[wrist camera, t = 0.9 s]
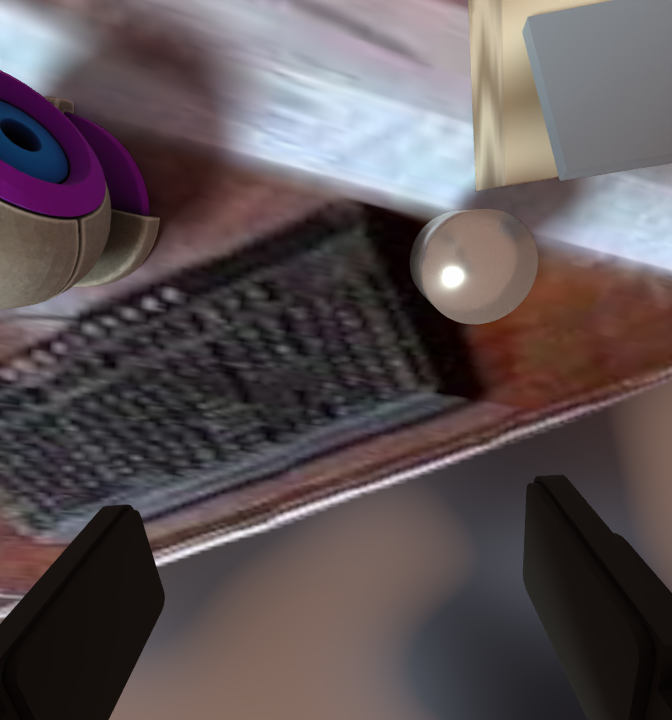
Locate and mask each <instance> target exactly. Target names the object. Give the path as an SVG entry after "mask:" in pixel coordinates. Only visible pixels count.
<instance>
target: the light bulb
mask: <svg viewBox="0 0 672 720" xmlns="http://www.w3.org/2000/svg"><path fill="white" fill-rule="evenodd" d="M537 269H538V252H537V247H536V244H535V241H534V238H533V236H532V234H531V232H530V231H529V230H528V228H527V227H526V226H525V225H524V224H523V223H522V222H521V221H520V220H519V219H517V218H516V217H515V216H513V215H511V214H509V213H506V212H503V211H500V210H495V209H475V210H460V211H452V212H448V213H445V214H442V215H440V216H438V217H436V218H435V219H433V220H432V221H430V222H429V223H428V224H427V225H426V226H425V227H424V228H423V229H422V230H421V231H420V233H419V234H418V236H417V238H416V240H415V242H414V244H413V247H412V250H411V254H410V270H411V275H412V278H413V281H414V283H415V285H416V286H417V288H418V289H419V290H420V292H421V293H422V294H423V295H424V296H425V297H426V298H427V299H428V300H429V301H430V302H431V303H432V304H433V305H434V306H435V307H436V308H437V309H438V310H439V311H440V312H441V313H442V314H444V315H445V316H447V317H448V318H450V319H452V320H454V321H458V322H461V323H466V324H483V323H488V322H492V321H495V320H497V319H499V318H502V317H504V316H505V315H507V314H509V313H510V312H511V311H513V310H514V309H515V308H516V307H517V306H518V305H519V304H520V303H521V302H522V301H523V300H524V299H525V297H526V296H527V294H528V293H529V291H530V290H531V287H532V285H533V283H534V280H535V277H536V274H537Z"/></svg>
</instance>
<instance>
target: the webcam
mask: <svg viewBox="0 0 672 720" xmlns="http://www.w3.org/2000/svg"><path fill="white" fill-rule="evenodd" d="M159 221H160V218H159V217H154V216H149V199H148V194H147V189H146V186H145V183H144V180H143V177H142V175H141V173H140V170H139V168H138V166H137V165H136V163H135V161H134V159H133V158H132V156H131V155H130V154H129V152H128V151H127V150H126V149H125V147H124V146H123V145H122V144H121V143H120V142H119V141H118V140H117V139H116V138H115V137H114V136H113V135H111V134H110V133H109V132H108V131H106V130H105V129H103V128H102V127H100V126H99V125H97V124H95V123H93V122H91V121H89V120H86V119H84V118H81V117H79V116H76V115H74V103H73V102H72V101H69V100H67V99H63V98H56V97H43V96H42V95H40V94H39V93H37V92H36V91H35V90H33V89H32V88H30V87H29V86H27V85H26V84H25V83H23V82H21V81H19V80H18V79H16V78H14V77H12V76H11V75H9V74H7V73H5V72H3V71H1V70H0V309H8V308H17V307H23V306H29V305H34V304H38V303H41V302H44V301H47V300H49V299H52V298H54V297H56V296H58V295H59V294H61V293H63V292H65V291H66V290H68V289H70V288H71V287H94V286H101V285H104V284H108V283H112V282H115V281H118V280H120V279H122V278H124V277H126V276H128V275H129V274H130V273H132V272H133V271H134V270H136V269H137V268H138V267H139V266H140V265H141V264H142V263H143V261H144V260H145V259H146V257H147V256H148V254H149V253H150V251H151V249H152V247H153V245H154V242H155V239H156V236H157V233H158V227H159Z"/></svg>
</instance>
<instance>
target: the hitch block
mask: <svg viewBox="0 0 672 720" xmlns="http://www.w3.org/2000/svg"><path fill="white" fill-rule="evenodd" d="M606 1H612V0H468V6H469V30H470V55H471V79H472V104H473V129H474V153H475V178H476V191H481V190H487V189H493V188H499V187H505V186H511V185H517V184H523V183H530V182H536V181H542V180H548V179H554V178H559V176H558V172H557V168H556V164H555V160H554V156H553V152H552V148H551V144H550V140H549V136H548V132H547V128H546V124H545V120H544V116H543V112H542V108H541V104H540V100H539V96H538V93H537V89H536V85H535V81H534V77H533V73H532V69H531V65H530V61H529V57H528V53H527V49H526V45H525V41H524V37H523V33H522V31H523V28H524V25H525V22H526V20H527V17H529V16H534V15H539V14H545V13H550V12H555V11H560V10H565V9H570V8H576V7H581V6H586V5H591V4H596V3H601V2H606Z"/></svg>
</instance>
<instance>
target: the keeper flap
mask: <svg viewBox="0 0 672 720" xmlns="http://www.w3.org/2000/svg"><path fill="white" fill-rule="evenodd" d="M522 33H523V37H524V41H525V45H526V49H527V53H528V57H529V61H530V65H531V69H532V73H533V77H534V81H535V85H536V89H537V93H538V96H539V100H540V104H541V108H542V112H543V116H544V120H545V124H546V128H547V132H548V136H549V140H550V144H551V148H552V152H553V156H554V160H555V164H556V168H557V172H558V176H559V180H560V181H564V180H570V179H576V178H583V177H589V176H595V175H601V174H607V173H613V172H619V171H625V170H632V169H638V168H644V167H650V166H656V165H662V164H668V163H672V0H612V1H606V2H601V3H596V4H591V5H586V6H581V7H576V8H570V9H565V10H560V11H555V12H550V13H545V14H539V15H534V16H529V17H527V20H526V22H525V25H524V28H523V31H522Z"/></svg>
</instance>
